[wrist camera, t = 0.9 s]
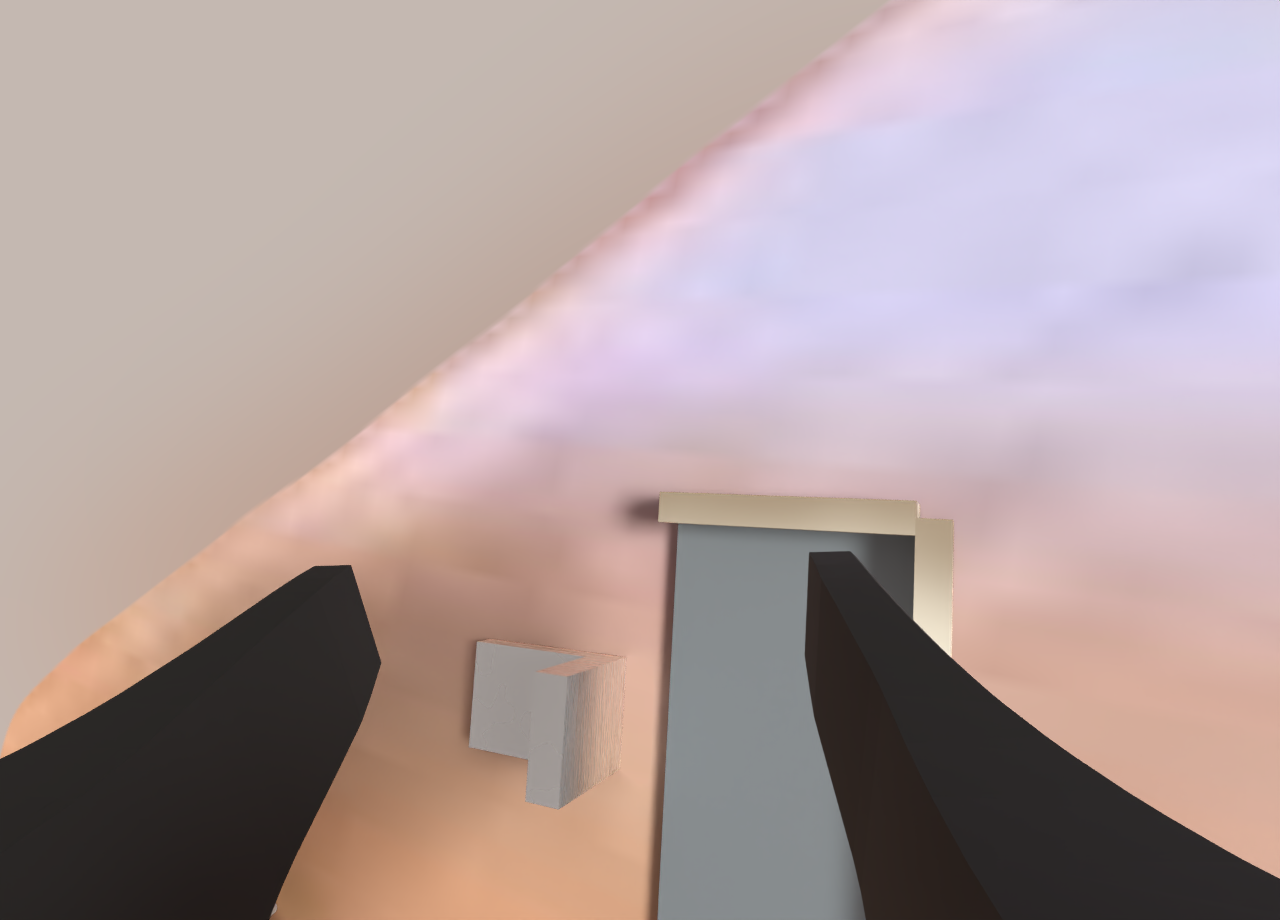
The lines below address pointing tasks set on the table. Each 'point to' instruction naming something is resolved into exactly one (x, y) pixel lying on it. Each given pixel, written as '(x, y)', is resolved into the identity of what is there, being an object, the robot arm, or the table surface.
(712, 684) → the board
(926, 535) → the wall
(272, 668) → the robot arm
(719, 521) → the side wall
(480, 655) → the bracket
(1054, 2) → the table surface
